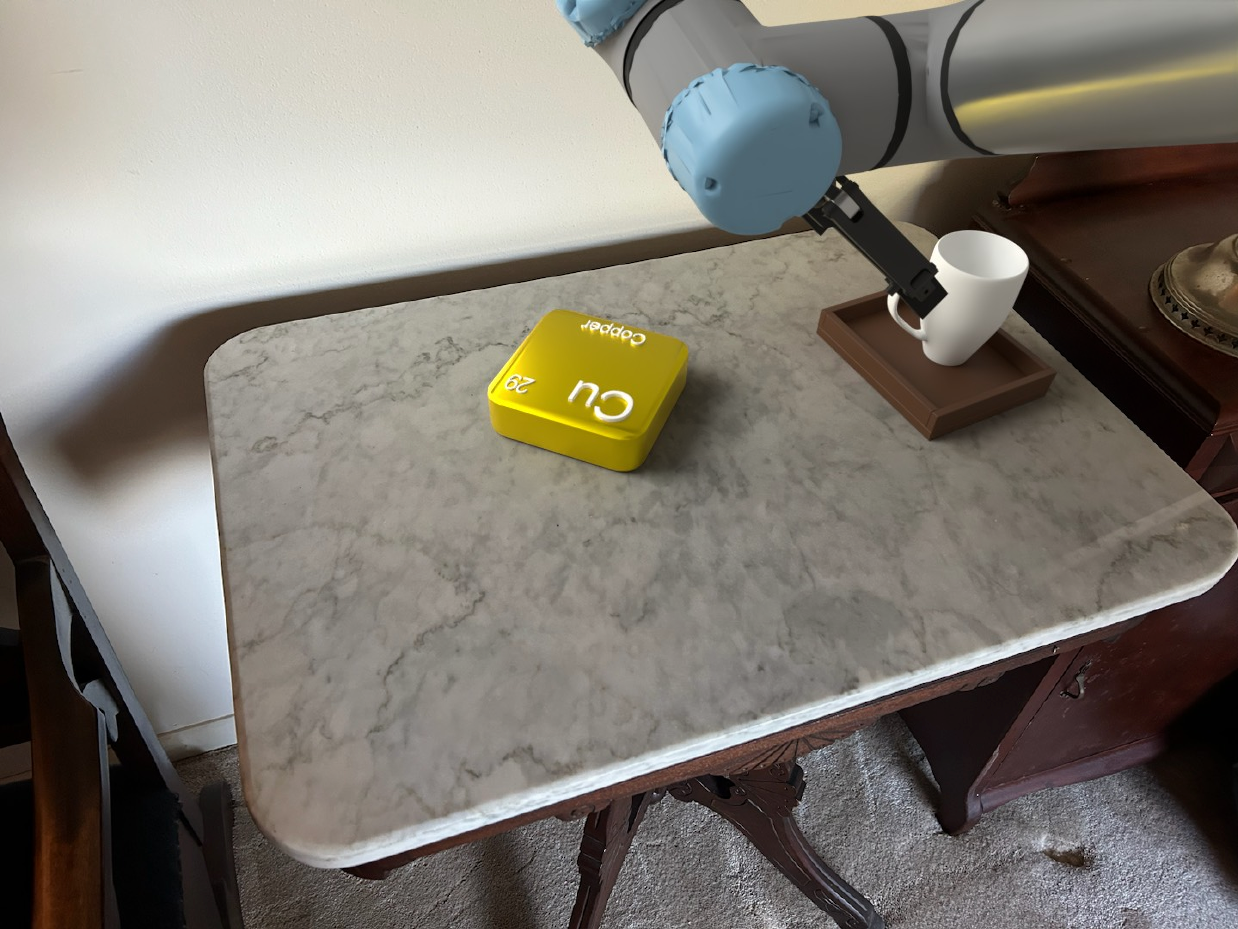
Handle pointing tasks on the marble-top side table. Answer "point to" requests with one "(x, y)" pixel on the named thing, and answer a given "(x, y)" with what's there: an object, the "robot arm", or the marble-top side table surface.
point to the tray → (931, 367)
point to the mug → (968, 294)
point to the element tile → (589, 389)
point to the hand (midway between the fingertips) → (877, 261)
